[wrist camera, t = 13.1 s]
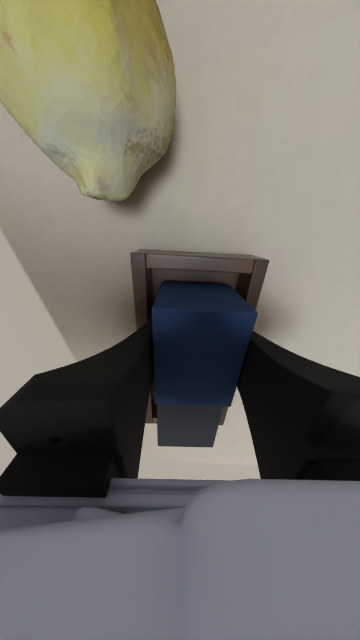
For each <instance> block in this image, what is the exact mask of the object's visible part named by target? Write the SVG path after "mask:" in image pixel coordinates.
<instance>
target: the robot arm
mask: <svg viewBox="0 0 360 640" xmlns="http://www.w3.org/2000/svg"><path fill="white" fill-rule="evenodd" d="M153 378H154V368H153V335H152V319H150V320H149V321H148V322H146V323H145V324H144V325H143V326H142V327H141V328H139V329H138V330H137V331H136V332H134V333H133V334H131V335H130V336H129V337H127V338H126V339H124V340H123V341H121V342H120V343H118V344H116V345H114V346H113V347H111V348H109V349H107V350H105V351H103V352H100V353H98V354H96V355H94V356H92V357H89V358H87V359H84V360H81V361H79V362H76V363H73V364H70V365H67V366H64V367H61V368H57V369H54V370H50V371H47V372H44V373H40V374H36V375H34V376H33V377H32V378H31V379H30V380H29V381H28V382H27V383H26V384H25V385H24V386H23V387H21V388H20V389H19V390H18V391H17V392H16V393H15V394H14V395H13V396H12V397H11V398H10V399H9V400H8V401H7V402H6V403H5V404H4V405H3V406H2V407H1V408H0V432H1V433H2V434H3V436H4V437H5V438H6V440H7V441H8V442H9V444H10V445H11V446H12V448H13V449H14V450H15V451H16V453H17V455H16V456H15V457H14V459H13V460H12V462H11V463H10V464H9V465H8V467H7V468H6V469H5V471H4V472H3V474H2V475H1V476H0V640H360V377H358V376H354V375H351V374H348V373H345V372H342V371H339V370H336V369H333V368H330V367H327V366H324V365H321V364H319V363H316V362H314V361H311V360H308V359H306V358H304V357H301V356H299V355H297V354H295V353H293V352H290V351H288V350H286V349H284V348H282V347H280V346H278V345H276V344H275V343H273V342H271V341H269V340H267V339H266V338H264V337H262V336H261V335H259V334H257V333H256V332H254V331H252V334H251V338H250V341H249V345H248V348H247V352H246V355H245V359H244V362H243V366H242V369H241V372H240V376H239V379H238V383H237V388H238V390H239V393H240V396H241V399H242V402H243V406H244V409H245V413H246V416H247V420H248V424H249V428H250V432H251V436H252V440H253V445H254V449H255V453H256V458H257V463H258V468H259V472H260V477H261V479H244V480H233V481H226V480H178V479H138V471H139V463H140V456H141V448H142V441H143V434H144V427H145V420H146V413H147V407H148V401H149V395H150V390H151V386H152V382H153Z"/></svg>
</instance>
